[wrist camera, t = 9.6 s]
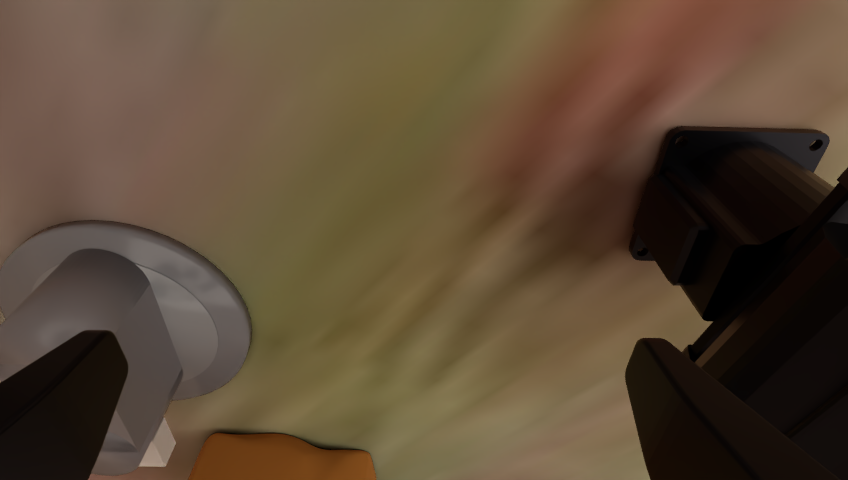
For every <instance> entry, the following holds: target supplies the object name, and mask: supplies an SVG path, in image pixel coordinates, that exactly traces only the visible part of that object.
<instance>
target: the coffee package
mask: <svg viewBox="0 0 848 480" xmlns="http://www.w3.org/2000/svg"><path fill="white" fill-rule="evenodd" d="M188 480H376V474H375V471H374V466H373V461H372V459H371V456H370V454H369V453H368V452H365V451H362V450H325V449H320V448H317V447H314V446H312V445H310V444H308V443H306V442H304V441H303V440H301V439H298V438H296V437H293V436H290V435H284V434H270V433H268V434H242V435H234V434H224V433H215V434H213V435H211V436H210V437H208V439H207V440H206V441H205V443H204V445H203V447H202V449H201V451H200V453H199V455H198V458H197V460H196V462H195V465H194V467H193V469H192V472H191V474H190V476H189V478H188Z"/></svg>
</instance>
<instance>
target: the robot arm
mask: <svg viewBox="0 0 848 480" xmlns="http://www.w3.org/2000/svg"><path fill="white" fill-rule="evenodd" d="M681 136H684V139H683V140H682V141H681V142H680V143H677V144H675V142H676V140H677V139H678V138H679V137H681ZM815 140H816V142H815V143H814V144H813V145H811V146H810V144H811V143H812V142H813V141H815ZM829 141H830V140H829V137H828V136H827V135H826V134H825V133H823V132H821V131H819V130H809V129H770V128H731V127H692V126H680V127H676V128H674V129H672V130H671V131H670V132H669V133H668V134H667V136H666V138H665V141H664V144H663V147H662V150H661V153H660V156H659V159H658V162H657V165H656V168H655V171H654V174H653V175H652V176H651V177H650V178H649V179H648V181H647V185H646V188H645V191H644V194H643V197H642V200H641V203H640V206H639V209H638V212H637V215H636V218H635V221H634V224H633V227H634V229H635V231H634V234H633V237H632V240H631V243H630V246H629V251H630V253H631V255H632V257H633V258H634V259H636V260H641V261H656V263H657V264H658V266H659V267H660V269H661V270H662V272H663V273H664V275H665V276H666V278H667V279H668V281H669V282H670V283H671V284H672V285H678V286H681V287H682V289H683V290H684V292H685V293H686V295H687V296H688V298H689V299H690V301H691V302H692V304H693V305H694V307H695V308H696V310H697V311H698V313H699V314H700V316H701V317H702V319H703V320H705V321H713V323H712V324H711V325H710V326H709V327H708V328H707V329H706V330H705V331H704V332H703V334H702V335H701V336H700V337H699V338H698V339H697V340H696V341H695V342H694V344H693V345H688V346H687V347H686V348H685V349H684V350H683V351H682V352H681V351H679V350H678V349H677V348H676V347H674V346H673V345H672V344H671V343H669V342H668V341H667V340H665V339H661V338H641V339H640V340H638V341H637V343H636V345H635V348H634V350H633V352H632V355H631V357H630V360H629V362H628V365H627V368H626V372H625V380H626V385H627V390H628V394H629V398H630V402H631V406H632V411H633V415H634V419H635V423H636V427H637V432H638V436H639V440H640V444H641V448H642V452H643V456H644V460H645V464H646V467H647V470H648V473H649V476H650V479H651V480H848V168H847V169H846V170H845V171H844V172H843V173H842V174H841V175H840V177H839V178H838V179H837V180H838V181H839V183H838V184H837V185H836V187H835V188H834V187H833V186H831V185H830V184H828V183H827V182H826V181H824V180H823V179H821V178H820V177H818V176H817V175H815V174H814V171H815V169H816V167H817V165H818V163H819V161H820V160H821V158H822V156H823V154H824V152H825V150H826V149H827V147H828V144H829ZM644 247H645V248H644ZM641 248H644V249H643V250H641V251H638V250H639V249H641ZM127 375H128V362H127V359H126V357H125V355H124V353H123V351H122V348H121V346H120V344H119V342H118V340H117V338H116V336H115V334H114V333H113V332H111V331H109V330H85V331H82V332H80V333H78V334H77V335H75V336H73V337H72V338H70V339H69V340H67V341H66V342H64V343H62V344H61V345H59V346H58V347H56V348H54V349H53V350H51V351H50V352H48V353H46V354H45V355H43V356H42V357H40V358H39V359H37V360H35V361H34V362H32V363H31V364H29V365H27V366H26V367H24V368H23V369H21V370H20V371H18V372H16V373H15V374H13V375H12V376H10V377H8V378H7V379H5V380H4V381H2V382H1V383H0V480H88V478H89V476H90V474H91V472H92V470H93V468H94V465H95V463H96V461H97V458H98V456H99V453H100V451H101V448H102V446H103V443H104V440H105V437H106V434H107V432H108V429H109V426H110V423H111V421H112V418H113V415H114V412H115V409H116V407H117V404H118V401H119V398H120V395H121V393H122V390H123V387H124V384H125V382H126V379H127Z"/></svg>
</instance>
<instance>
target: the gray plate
mask: <svg viewBox="0 0 848 480" xmlns="http://www.w3.org/2000/svg"><path fill="white" fill-rule="evenodd" d="M82 249H101V250H106V251H110V252H113V253H116V254H118V255H121V256H123V257H125V258H126V259H128V260H130V261H131V262H133V263H134V264H135V265H136V266H138V267H139V268H140V269H141V270H142V271H143V272H144V274H145V275H146V276H147V278H148V280H149V282H150V284H151V287H152V289H153V292H154V295H155V297H156V300H157V303H158V305H159V308H160V311H161V313H162V316H163V319H164V321H165V324H166V327H167V329H168V332H169V334H170V337H171V340H172V342H173V345H174V348H175V350H176V353H177V356H178V358H179V361H180V364H181V366H182V369H183V378H182V380H181V382H180V384H179V386H178V388H177V390H176V392H175V394H174V396H173V398H172V400H182V399H189V398H193V397H198V396H201V395H204V394H207V393H210V392H212V391H214V390H216V389H218V388H220V387H222V386H223V385H225V384H226V383H228V382H229V381H230V380H231V379H232V378H233V377H234V376H235V375H236V374H237V373H238V371H239V370H240V369H241V367H242V365H243V363H244V361H245V358H246V356H247V353H248V350H249V348H250V343H251V339H252V325H251V318H250V315H249V312H248V309H247V306H246V304H245V302H244V301H243V299H242V297H241V295H240V294H239V292H238V291H237V289H236V288H235V286H234V285H233V284H232V283H231V281H230V280H229V279H228V278H227V277H226V276H225V275H224V274H223V273H222V272H221V271H220V270H219V269H218V268H217V267H216V266H214V265H213V264H212V263H211V262H210V261H208V260H207V259H206V258H204V257H203V256H201V255H200V254H199V253H197V252H195V251H194V250H192V249H190V248H189V247H187V246H185V245H184V244H182V243H180V242H178V241H176V240H173V239H171V238H169V237H167V236H165V235H162V234H159V233H157V232H154V231H151V230H148V229H145V228H141V227H137V226H134V225H130V224H124V223H118V222H112V221H98V220H89V221H74V222H68V223H62V224H58V225H55V226H52V227H48V228H46V229H44V230H42V231H40V232H38V233H36V234H34V235H33V236H31V237H30V238H29V239H27V240H26V241H25V242H24V243H22V244H21V245H20V246H19V247H18V248H17V249H16V250H14V251H13V252H12V254H11V255H10V256H9V257H8V258H7V259H6V260H5V262H4V264H3V266H2V268H1V269H0V307H1V310H2V313H3V315H4V317H5V319H7V318H8V317H9V316H10V315H11V314H12V313H13V312H14V311H15V310H16V309H17V308H18V306H19V305H20V304H21V303H22V302H23V301H24V300H25V299H26V298H27V297H28V296H29V295H30V294H31V293H32V292H33V291H34V290H35V289H36V288H37V287H38V286H39V285H40V284H41V283H42V282H43V281H44V280H45V279H46V278H47V277H48V276H49V275H50V274H51V273H52V272H53V271H54V270H55V269H56V268H57V267H58V266H59V265H60V264H61V263H62V262H63V261H64V260H65V259H66V258H67V257H68V256H69V255H70V254H72V253H73V252H76V251H78V250H82ZM172 400H171V401H172Z"/></svg>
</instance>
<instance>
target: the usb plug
mask: <svg viewBox="0 0 848 480" xmlns="http://www.w3.org/2000/svg"><path fill="white" fill-rule="evenodd" d="M85 330H109V331H111V332H113V333H114V334H115V336H116V338H117V340H118V342H119V344H120V346H121V348H122V351H123V353H124V355H125V357H126V359H127V362H128V375H127V379H126V382H125V384H124V387H123V390H122V393H121V395H120V398H119V401H118V404H117V407H116V409H115V412H114V415H113V418H112V421H111V423H110V426H109V429H108V432H107V434H106V437H105V440H104V443H103V446H102V448H101V451H100V453H99V456H98V458H97V461H96V463H95V465H94V468H93V470H92V472H91V474H97V475H106V476H115V475H123V474H127V473H130V472H132V471H134V470H135V469H136V468H138V466H143V467H166V465H167V462H168V460H169V458H170V456H171V453H172V451H173V449H174V447H175V444H176V442H175V440H174V437H173V435H172V433H171V431H170V429H169V426H168V424H167V422H166V420H165V417H163V416H164V414H165V412H166V410H167V408H168V406H169V404H170V402H171V400H172V398H173V396H174V394H175V392H176V390H177V388H178V386H179V384H180V382H181V380H182V378H183V369H182V366H181V364H180V361H179V358H178V356H177V353H176V350H175V348H174V345H173V342H172V340H171V337H170V334H169V332H168V329H167V327H166V324H165V321H164V319H163V316H162V313H161V311H160V308H159V305H158V303H157V300H156V297H155V295H154V292H153V289H152V287H151V284H150V282H149V280H148V278H147V276H146V275H145V274H144V272H143V271H142V270H141V269H140V268H139V267H138V266H136V265H135V264H134V263H133V262H131V261H130V260H128V259H126V258H125V257H123V256H121V255H118V254H116V253H113V252H110V251H106V250H101V249H82V250H78V251H76V252H73V253H72V254H70V255H69V256H68V257H67V258H66V259H65V260H64V261H63V262H62V263H61V264H60V265H59V266H58V267H57V268H56V269H55V270H54V271H53V272H52V273H51V274H50V275H49V276H48V277H47V278H46V279H45V280H44V281H43V282H42V283H41V284H40V285H39V286H38V287H37V288H36V289H35V290H34V291H33V292H32V293H31V294H30V295H29V296H28V297H27V298H26V299H25V300H24V301H23V302H22V303H21V304H20V305H19V306H18V308H17V309H16V310H15V311H14V312H13V313H12V314H11V315H10V316H9V317H8V318H7V319H6V320H5V321H4V322H3V323H2V324H1V325H0V381H1V382H2V381H4V380H5V379H7V378H8V377H10V376H12V375H13V374H15V373H16V372H18V371H20V370H21V369H23V368H24V367H26V366H27V365H29V364H31V363H32V362H34V361H35V360H37V359H39V358H40V357H42V356H43V355H45V354H46V353H48V352H50V351H51V350H53V349H54V348H56V347H58V346H59V345H61V344H62V343H64V342H66V341H67V340H69V339H70V338H72V337H73V336H75V335H77V334H78V333H80V332H82V331H85Z"/></svg>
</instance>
